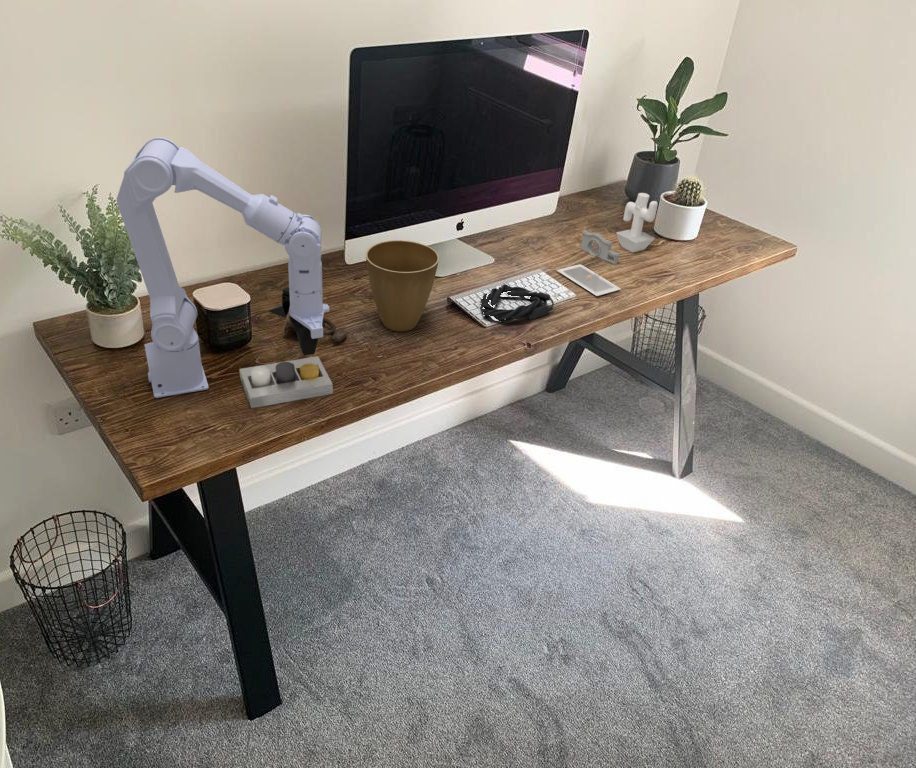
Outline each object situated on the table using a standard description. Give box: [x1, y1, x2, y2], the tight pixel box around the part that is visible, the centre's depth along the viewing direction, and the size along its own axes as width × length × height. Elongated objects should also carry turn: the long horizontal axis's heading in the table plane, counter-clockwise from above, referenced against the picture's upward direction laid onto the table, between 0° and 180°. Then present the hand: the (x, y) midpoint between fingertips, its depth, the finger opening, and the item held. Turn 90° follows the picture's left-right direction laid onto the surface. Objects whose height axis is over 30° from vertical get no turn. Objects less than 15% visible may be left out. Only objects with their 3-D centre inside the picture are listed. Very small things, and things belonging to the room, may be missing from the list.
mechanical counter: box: [282, 311, 347, 343], centre depth 164 cm, size 7×13×10 cm
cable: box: [479, 283, 555, 323], centre depth 180 cm, size 17×14×4 cm
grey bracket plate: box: [580, 229, 621, 266], centre depth 207 cm, size 12×2×6 cm, turn 42°
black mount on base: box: [268, 286, 290, 319], centre depth 175 cm, size 13×8×5 cm, turn 148°
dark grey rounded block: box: [276, 361, 296, 384], centre depth 149 cm, size 3×3×3 cm
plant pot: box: [365, 239, 440, 332], centre depth 168 cm, size 15×15×16 cm
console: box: [239, 356, 334, 409], centre depth 150 cm, size 15×10×2 cm, turn 113°
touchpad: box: [556, 263, 622, 297], centre depth 195 cm, size 8×15×2 cm, turn 33°
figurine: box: [615, 192, 659, 254], centre depth 210 cm, size 7×9×15 cm
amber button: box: [300, 363, 319, 380], centre depth 151 cm, size 3×3×3 cm
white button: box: [251, 365, 272, 389], centre depth 147 cm, size 3×3×3 cm
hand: (308, 352), depth 148 cm, fingers closed
